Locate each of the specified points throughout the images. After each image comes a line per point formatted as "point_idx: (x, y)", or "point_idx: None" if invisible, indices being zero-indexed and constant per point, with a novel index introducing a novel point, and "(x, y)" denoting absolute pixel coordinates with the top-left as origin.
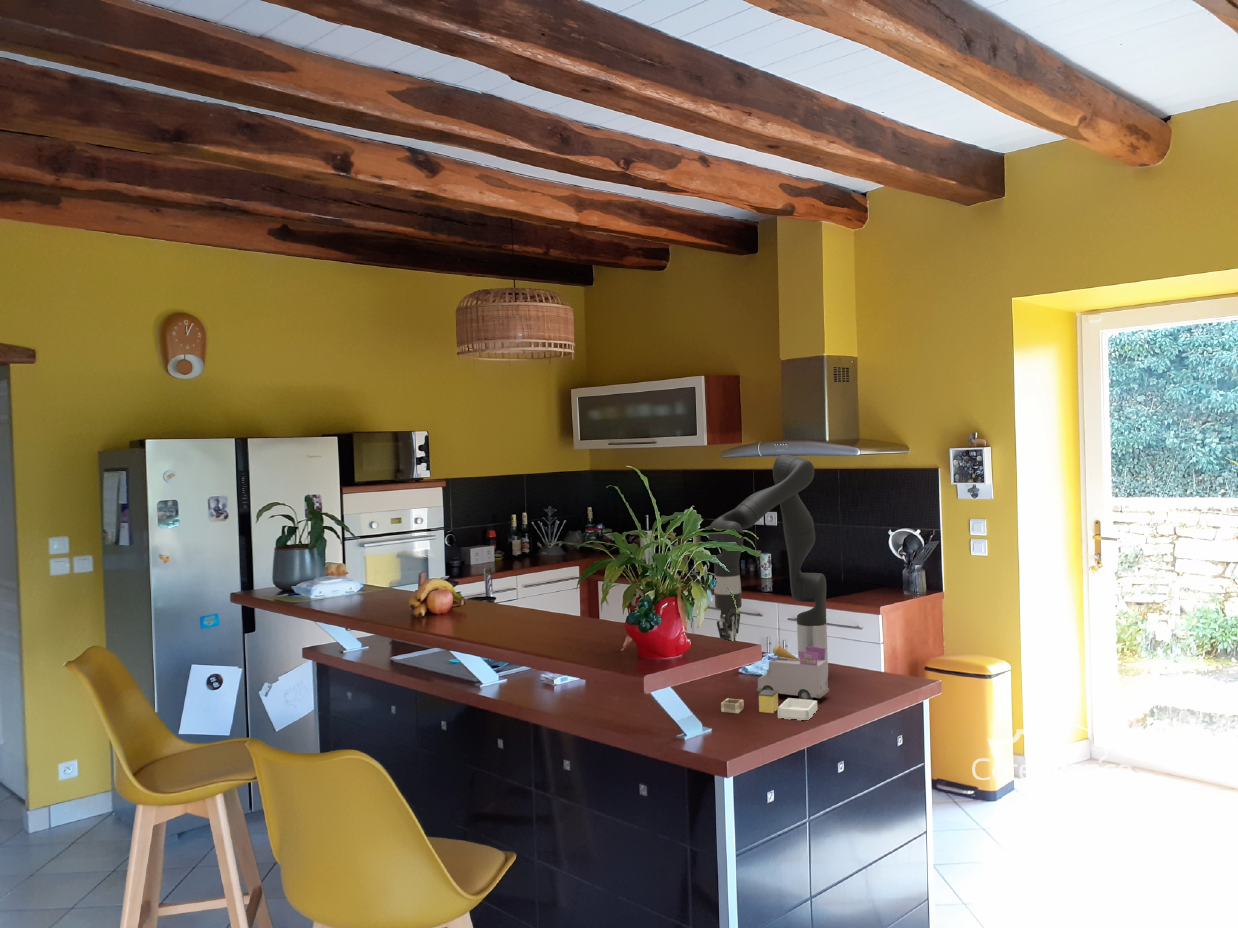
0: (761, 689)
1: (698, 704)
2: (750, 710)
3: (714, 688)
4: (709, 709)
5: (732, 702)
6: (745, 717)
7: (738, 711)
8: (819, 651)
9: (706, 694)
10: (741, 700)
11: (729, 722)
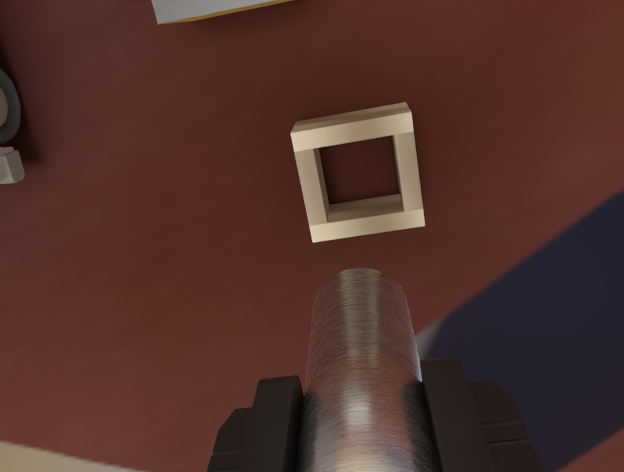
0: (5, 150)
1: None
2: (312, 64)
3: (62, 424)
4: (407, 282)
5: (323, 193)
6: (466, 15)
7: (400, 104)
8: None
9: (174, 411)
10: (312, 137)
11: (608, 55)
